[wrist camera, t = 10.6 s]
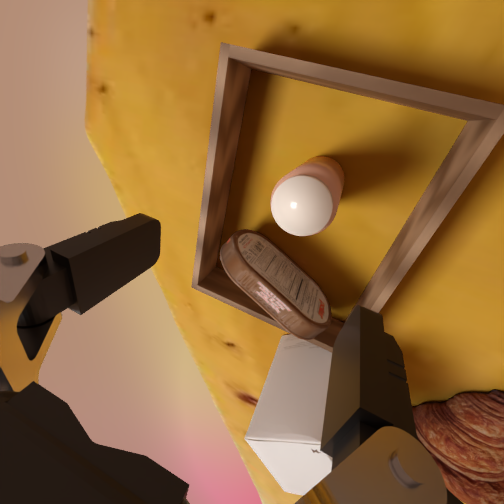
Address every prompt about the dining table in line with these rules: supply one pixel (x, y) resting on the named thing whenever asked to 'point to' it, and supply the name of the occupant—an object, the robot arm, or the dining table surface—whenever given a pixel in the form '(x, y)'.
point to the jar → (308, 196)
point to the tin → (276, 284)
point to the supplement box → (293, 416)
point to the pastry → (466, 444)
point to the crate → (244, 59)
